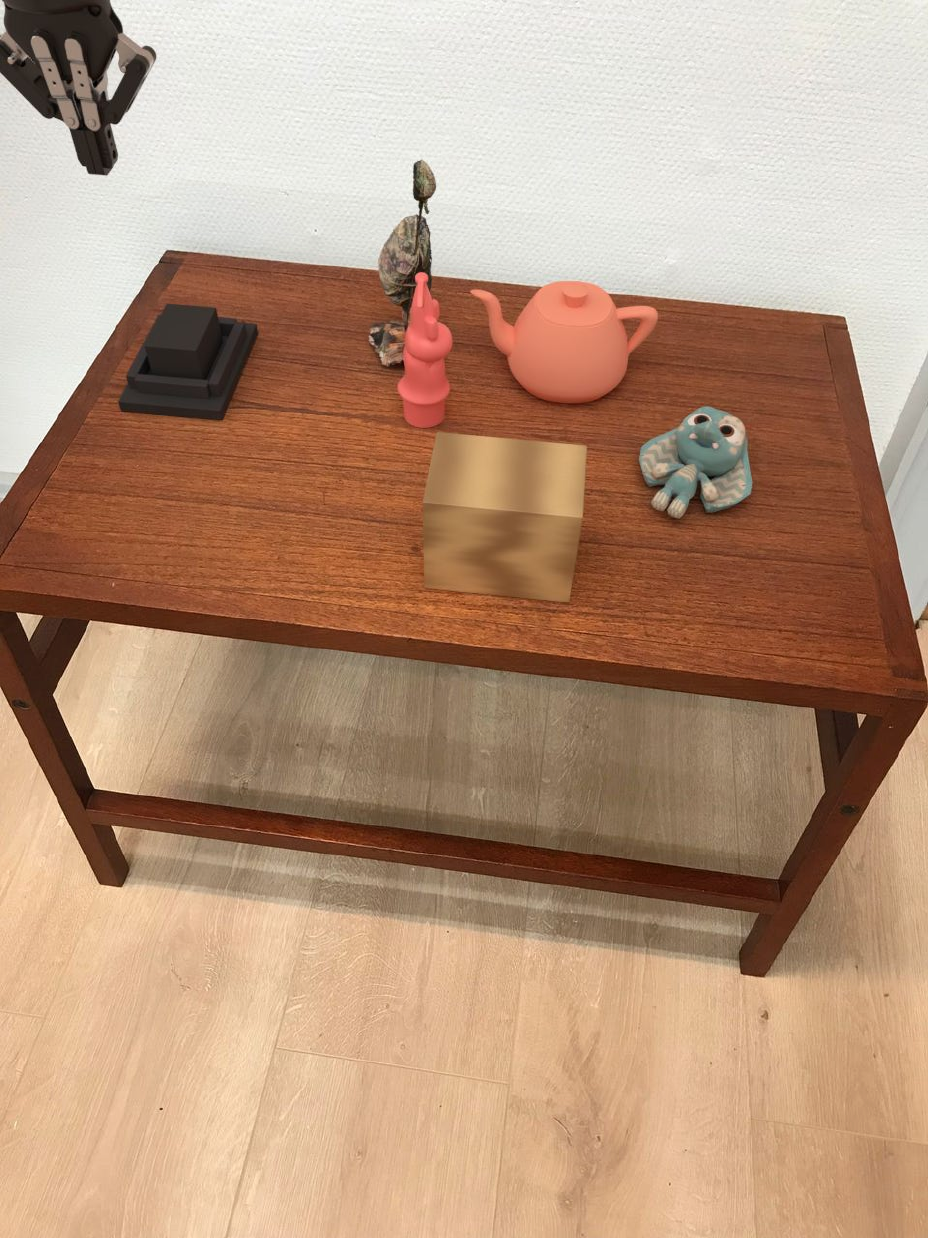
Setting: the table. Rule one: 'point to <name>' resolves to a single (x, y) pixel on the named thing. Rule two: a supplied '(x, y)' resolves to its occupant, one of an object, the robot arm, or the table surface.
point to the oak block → (503, 516)
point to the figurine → (425, 361)
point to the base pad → (191, 393)
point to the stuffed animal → (699, 462)
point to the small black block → (184, 342)
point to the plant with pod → (404, 267)
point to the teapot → (568, 340)
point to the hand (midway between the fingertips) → (102, 170)
